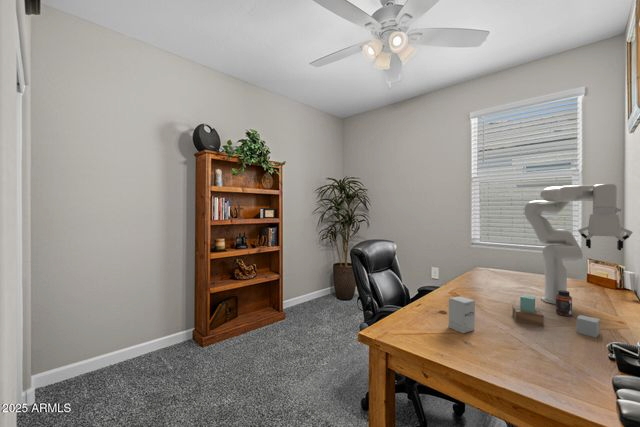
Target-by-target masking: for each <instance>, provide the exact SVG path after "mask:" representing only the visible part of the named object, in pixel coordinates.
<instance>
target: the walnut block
mask: <svg viewBox="0 0 640 427" xmlns="http://www.w3.org/2000/svg"><path fill="white" fill-rule="evenodd" d="M511 311H512V313H511V314H512V317H513V319H514V320H515V322H516V323H520V324H521V323H522V324H528V325H536V326H542V327H544V326H545V324H544V323H545V315H544V314H543V312H542V311H541V310H540V309H539V308H538V307H535V311H534V313H533V312H528V311H523V310H520V305H514V304H513V305H512V310H511Z"/></svg>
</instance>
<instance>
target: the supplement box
mask: <svg viewBox="0 0 640 427" xmlns="http://www.w3.org/2000/svg"><path fill="white" fill-rule="evenodd" d="M475 306H476V300H473V299H470V298H467V297H464V296H455V297H450V298H448V328H449V329H452V330H453V331H457V332H459V333H461V334H465V333H469V332H472V331H475V328H476V327H475V326H476V324H475V321H476V320H475V319H476V318H475V317H476V315H475V314H476V313H475V312H476V311H475V310H476V308H475Z"/></svg>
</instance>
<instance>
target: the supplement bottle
mask: <svg viewBox="0 0 640 427" xmlns="http://www.w3.org/2000/svg"><path fill="white" fill-rule="evenodd" d="M555 313H556V314H558V315H560V316H565V317H572V315H573V297H572V296H570V291H568V290H567V291H564V290H559V294H557V295H556V304H555Z"/></svg>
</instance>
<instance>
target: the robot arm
mask: <svg viewBox="0 0 640 427" xmlns="http://www.w3.org/2000/svg"><path fill="white" fill-rule="evenodd" d="M617 190H618V189H617V185H616V184H614V183H600V184H580V185H579V184H577V185H573V184H572V185H562V186H559V185H557V186H548V187H546V188H544V189H542V190H541V191H540V193H539V194H540V196H539V197H540V198H541V199H542V200H531V201H528V202H527V203H526V204H525V205H524V216H525V218H526V220H527V222H528V223H530V225H531V226H532V228H533V230H534V232H535V235H536V237H537V239H538V240H539V242H540V244H542V245H544V246H545V247H544V248H542V256H543V262H544V296H540V300H541V301H542V302H545V303H548V304H553V305H556V295H557V294H559V290H564V291H568V270H567V268H566V266H565V265H564V264H563V263H578V262H581V261H582V260H583V257H584V254H583V250H582V248H581V247H580V245H579V243H578V242H577V240H576V238H575V236H574V235H573V233H572V232H571V231H570V230H568V229H565V228H554V227H553V226H552V224H551V223H550V221H549V220H548V219H547V218H545V217H544V215H546V216H549V215H551V216H552V215H553V216H554V215H559V213H561V212H562V211H564V209H565V207H567V206H568V204H569V203H570V202H571V201H572V202H592V214H591V213H590V215H589V218H588V225H587V226H585V227H582V228H579V229H577V230H578V232H579V234H580V236H581V237H582V238H584V239H585V247H587V249H591V248H592V240H591V238H593V237H610V238H611V237H614V238H616V239H617V246H616V249H617V250H618V251H622V249H624V242H625V241H626V240H628V239H629V238H630V236H632V234H633V231H632V230H630V229H627V228H624V227H621V220H620V216H619V214H617V213H621V212H622V208H619V207H617V201H618V200H617V196H618V195H617V193H618V192H617ZM585 231H587V233H588V234H587V235H586V234H585V233H584V232H585ZM622 232H624V233H626V234H625V235H623V236H621V234H622Z"/></svg>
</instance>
